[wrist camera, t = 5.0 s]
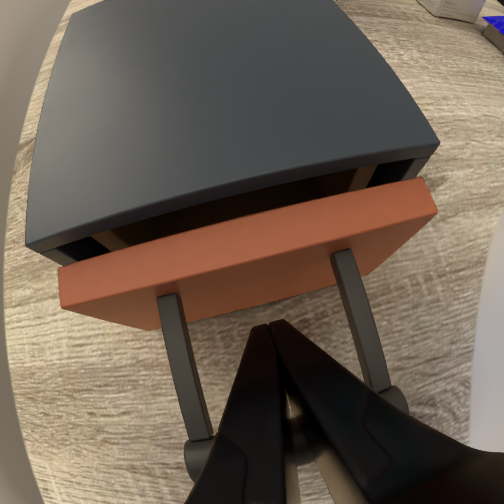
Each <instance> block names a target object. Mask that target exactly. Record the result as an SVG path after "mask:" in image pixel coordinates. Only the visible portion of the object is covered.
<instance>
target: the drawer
mask: <svg viewBox="0 0 504 504" xmlns="http://www.w3.org/2000/svg"><path fill="white" fill-rule="evenodd" d="M377 166H378V164H377V165H372V166H367V167H361V168H356V169H351V170H346V171H341V172H336V173H331V174H326V175H321V176H316V177H312V178H307V179H302V180H298V181H293V182H289V183H284V184H280V185H276V186H271V187H267V188H263V189H258V190H254V191H250V192H246V193H242V194H238V195H234V196H230V197H226V198H222V199H218V200H214V201H210V202H206V203H202V204H199V205H195V206H191V207H187V208H184V209H180V210H176V211H173V212H169V213H165V214H162V215H158V216H155V217H151V218H148V219H144V220H141V221H138V222H134V223H131V224H127V225H124V226H121V227H117V228H114V229H111V230H108V231H104V232H101V233H98V234H95V235H92V236H91V237H92V238H93V239H95V240H96V241H98V242H99V243H100V244H102V245H103V246H104V247H106V248H107V249H108V250H110V251H111V252H110V253H107V254H103V255H100V256H96V257H93V258H89V259H86V260H83V261H79V262H76V263H73V264H69V265H66V266H63V267H59V268H58V283H59V296H60V306H61V308H62V309H65V310H69V311H72V312H76V313H79V314H83V315H87V316H90V317H94V318H98V319H102V320H106V321H110V322H114V323H118V324H122V325H126V326H130V327H135V328H139V329H143V330H148V331H150V330H155V329H160V328H162V331H163V336H164V341H165V346H166V350H167V355H168V359H169V364H170V368H171V372H172V377H173V381H174V385H175V389H176V393H177V397H178V401H179V405H180V408H181V412H182V416H183V419H184V423H185V427H186V430H187V434H188V437H189V440H187V441H186V442H185V445H184V459H185V465H186V468H187V471H188V474H189V476H190V478H191V479H192V481H193V482H194V483H196V481H197V479H198V477H199V475H200V473H201V471H202V469H203V467H204V464H205V462H206V459H207V457H208V454H209V452H210V449H211V447H212V444H213V441H214V438H215V435H213V434H214V431H213V428H212V424H211V421H210V417H209V414H208V410H207V406H206V402H205V399H204V395H203V391H202V387H201V383H200V379H199V375H198V371H197V367H196V363H195V359H194V354H193V350H192V346H191V341H190V337H189V332H188V328H187V322H191V321H196V320H200V319H204V318H209V317H213V316H217V315H221V314H225V313H229V312H234V311H238V310H242V309H246V308H250V307H254V306H257V305H261V304H265V303H269V302H273V301H277V300H281V299H284V298H288V297H292V296H295V295H299V294H303V293H306V292H310V291H314V290H317V289H321V288H324V287H328V286H331V285H335V284H337V285H338V288H339V292H340V295H341V298H342V302H343V305H344V308H345V312H346V315H347V319H348V322H349V326H350V329H351V333H352V336H353V340H354V344H355V347H356V351H357V355H358V358H359V362H360V366H361V370H362V374H363V378H364V382H365V384H366V385H368V386H369V387H370V388H371V390H375V391H376V392H377V393H378V394H380V395H381V396H382V397H384V398H385V399H386V400H388V401H389V402H390V403H392V404H393V405H395V406H396V407H398V408H399V409H400V410H402V411H404V412H405V413H407V414H409V408H408V404H407V401H406V399H405V397H404V395H403V393H402V392H401V390H400V389H399V388H398V387H397V386H395V385H391V381H390V377H389V373H388V369H387V365H386V361H385V357H384V354H383V350H382V346H381V342H380V339H379V335H378V332H377V328H376V325H375V321H374V318H373V314H372V311H371V307H370V304H369V301H368V298H367V294H366V291H365V288H364V285H363V282H362V279H361V277H362V276H365V275H368V274H369V273H370V272H372V271H373V270H374V269H375V268H376V267H378V266H379V265H380V264H381V263H382V262H384V261H385V260H386V259H387V258H388V257H389V256H391V255H392V254H393V253H394V252H395V251H396V250H398V249H399V248H400V247H401V246H402V245H403V244H404V243H406V242H407V241H408V240H409V239H410V238H411V237H412V236H413V235H415V234H416V233H417V232H418V231H419V230H420V229H421V228H422V227H423V226H425V225H426V224H427V223H428V222H429V221H430V220H431V219H432V218H433V217H434V216H435V215H436V214H437V213H438V210H437V207H436V205H435V203H434V201H433V199H432V196H431V194H430V192H429V190H428V188H427V186H426V183H425V181H424V179H423V178H422V177H419V178H414V179H409V180H404V181H399V182H394V183H389V184H384V185H379V186H375V187H370V188H366V186H367V184H368V182H369V181H370V179H371V177H372V175H373V173H374V171H375V169H376V167H377ZM409 415H410V414H409ZM291 425H292V433H293V441H294V449H295V457H296V465H297V466H300V465H304V464H308V463H311V462H315V459H314V457H313V455H312V453H311V450H310V448H309V446H308V444H307V442H306V439H305V437H304V435H303V433H302V430H301V428H300V426H299V424H298V421H297V419H296V417H295V418H291ZM212 435H213V436H212Z"/></svg>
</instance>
